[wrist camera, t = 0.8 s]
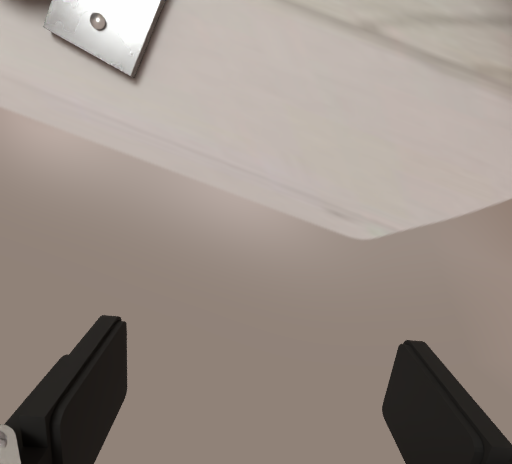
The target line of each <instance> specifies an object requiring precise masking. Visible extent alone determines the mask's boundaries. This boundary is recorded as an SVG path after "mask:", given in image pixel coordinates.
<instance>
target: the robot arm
mask: <svg viewBox="0 0 512 464" xmlns="http://www.w3.org/2000/svg"><path fill="white" fill-rule="evenodd" d="M126 392H127V331H126V322H123V321H121V318H120V317H118V316H117V317H116V316H106V315H102V316H101V317H100V318H99V319H98V320H97V321H96V322H95V324H94V325H93V326H92V327H91V329H90V330H89V331H88V332H87V333H86V335H85V336H84V337H83V338H82V339H81V341H80V342H79V343H78V344H77V345H76V347H75V348H74V349H73V350H72V352H71V353H70V354H69V355H64V356H63V357H62V358H60V359H59V361H58V362H57V363H56V364H55V365H54V366H53V368H52V369H51V370H50V372H48V374H47V375H46V376H45V377H44V378H43V379H42V381H41V382H40V383H39V384H38V385H37V386H36V388H35V389H34V390H33V391H32V392H31V394H30V395H29V396H28V397H27V398H26V399H25V401H24V402H23V403H22V404H21V405H20V407H19V408H18V409H17V410H16V411H15V412H14V414H13V415H12V416H11V417H10V418H9V420H8V421H7V422H6V423H5V424H4V425H1V424H0V464H94V462H95V460H96V458H97V456H98V454H99V452H100V450H101V447H102V445H103V443H104V441H105V439H106V437H107V435H108V433H109V431H110V428H111V426H112V424H113V422H114V420H115V418H116V416H117V414H118V412H119V409H120V407H121V405H122V403H123V401H124V399H125V396H126ZM382 412H383V416H384V419H385V421H386V423H387V425H388V427H389V429H390V431H391V433H392V436H393V438H394V440H395V442H396V444H397V446H398V448H399V450H400V453H401V455H402V457H403V459H404V461H405V463H406V464H512V445H511V443H510V442H509V441H508V440H507V438H506V437H505V436H504V435H503V434H502V433H501V431H500V430H499V429H498V428H497V427H496V425H495V424H494V423H493V422H492V421H491V420H490V418H489V417H488V416H487V415H486V414H485V413H484V411H483V410H482V409H481V408H480V407H479V405H477V403H476V402H475V401H474V400H473V399H472V397H471V396H470V395H469V394H468V393H467V391H466V390H465V389H464V388H463V387H462V385H461V384H460V383H459V382H458V381H457V380H456V378H455V377H454V376H453V375H452V374H451V372H450V371H449V370H448V369H447V368H446V367H445V366H444V364H443V363H442V362H441V361H440V359H439V358H438V357H437V356H436V355H435V354H434V353H433V351H432V350H431V349H430V348H429V347H428V345H427V344H426V343H425V342H422V341H410V340H407V341H405V342H404V343H403V344H400V345H399V347H398V350H397V355H396V358H395V362H394V366H393V369H392V373H391V377H390V380H389V384H388V388H387V391H386V395H385V398H384V402H383V406H382Z"/></svg>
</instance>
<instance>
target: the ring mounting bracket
mask: <svg viewBox="0 0 512 464" xmlns="http://www.w3.org/2000/svg"><path fill="white" fill-rule="evenodd" d="M165 1H166V0H52V1H51V4H50V7H49V10H48V14H47V17H46V20H45V23H44V26H43V27H44V28H46V29H47V30H49V31H51V32H53V33H54V34H56V35H58V36H60V37H62V38H63V39H65V40H67V41H69V42H71V43H72V44H74V45H76V46H78V47H79V48H81V49H83V50H85V51H87V52H88V53H90V54H92V55H94V56H95V57H97V58H99V59H101V60H103V61H104V62H106V63H108V64H110V65H112V66H113V67H115V68H117V69H119V70H120V71H122V72H124V73H126V74H128V75H129V76H131V77H133V78H134V77H135V75H136V72H137V70H138V68H139V65H140V63H141V60H142V58H143V55H144V53H145V50H146V48H147V45H148V43H149V40H150V38H151V35H152V33H153V30H154V28H155V25H156V23H157V21H158V18H159V16H160V13H161V11H162V8H163V6H164V3H165Z"/></svg>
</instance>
